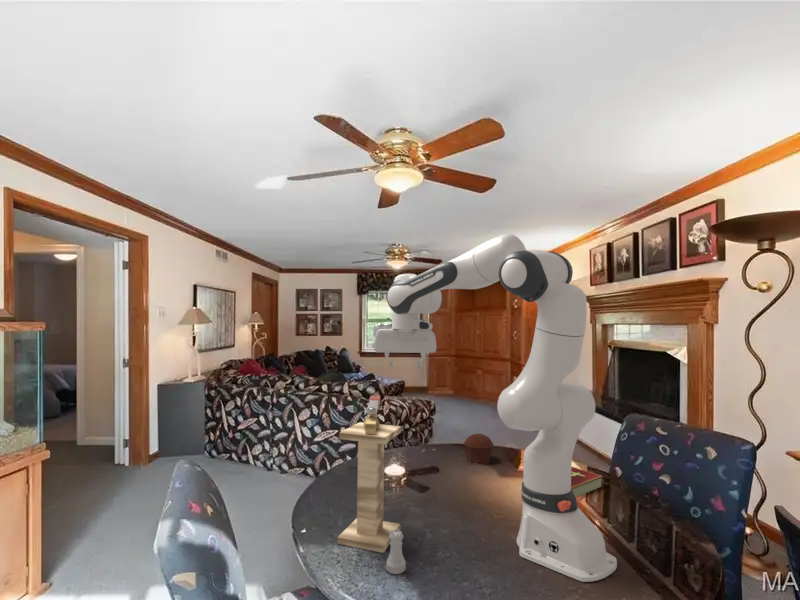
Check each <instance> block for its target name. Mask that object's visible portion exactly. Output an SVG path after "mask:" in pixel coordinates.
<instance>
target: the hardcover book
mask: <svg viewBox="0 0 800 600" xmlns="http://www.w3.org/2000/svg"><path fill="white" fill-rule="evenodd" d="M603 478H604V476H603V475H601V474H599V473H598V474H597V473H595V472H591V471H587V470H584V469H581V468H577V467H574V466H571V488H572V489H573V492H574V495H575V497H579V496H582V495H585V494H586V493H589V492H591V491H593V490H596V489H599V488H602V479H603Z"/></svg>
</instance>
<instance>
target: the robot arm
mask: <svg viewBox="0 0 800 600" xmlns="http://www.w3.org/2000/svg"><path fill="white" fill-rule="evenodd" d="M572 278H573V267H572V265H571V262H570V261H569V260H568V259H567V258H566V257H565V256H563V255H562V254H559V253H558V252H554V251H544V250H541V249H540V250H539V249H536V250H535V249H532V250H530V249H529V250H527V249H526V247H525V244H524V243H523V241H522V240H521V239H520V238H519V236H516V235H514V234H513V233H512V234H511V233H505V234H501V235H498V236H496V237H493V238H491V239H488V240H486V241H483V242H482V243H480V244H478V245H476V246H475V247H473V248H471V249H470V250H468V251H466V252H464V253H462V254H460V255H458V256H457V257H454V258H452V259H450V260H448V261H446V262H443V263H441V264H439V265H436V266H434V267H432V268H430V269H428V270H426V271H424V272H422V273H420V274H415V273H411V272H409V273H401V274H399V275H397V276H395V278H394V279H393V283H392V284H391V285H390V287H389V288H388V289H387V293H386V302H387V304H388V306H389V308H390V309H391V311H392V312H391V323H378V324H376V325H375V326H374V327H373V333H372V335H373V336H374V342H373V343H374V344H373V345H374V346H373V350H374V352H375V353H384V357H385V359H386V361H387V367H389V368H390V367H394V366H393V365H394V364H393V363H394V362H393V360H391V359H390V358H389V357H390V353H401V354H403V353H405V354H406V353H408V354H409V353H415V354H416V353H417V354H420V356H421V358H420V360H417V361H416V366H417V368H422V367H423V361H424V360H425V357H426V354H434V353H436V351H437V339H436V334H435V332H434V331H432V330H433V327H434V326H433V323H431V322H429V321H426V320H424V319H420V314H421V315H422V314H424V315H426V314H428V315H429V314H433V313H434V314H435V313H437V312H438V311H439V309H440V308H441V306H442V304H443V293H442V291H443V290H477V289H482V288H486V287H488V286H491V285H493V284H495V283H498V282H500V284H501V285H502V287H503V288H504V290H506V291H507V292H509V294H510V293H511V294H513V295H515V296H517V297H519V298H521V299H522V300H523V301H526V302H527V303H532V302H535V304H536V306H537V316H536V321H535V328H534V335H533V339H532V346H531V350H530V352H529V357H528V358H527V361H526V364H525V365H524V367H523V369H522V371H521V372H520V373H519V375H518V376H517V377H516V378H515V380H514V381H513V382H512V383H511V384H510V385H509V386H507V387H506V388H504V389H503V390H502V391H501V393H500V394H499V396H498V398H497V399H498V400H497V406H496V407H497V413H498V416H499V419H500V420H501V422H502V423H503V424H504V426H506V427H507V428H508V429H511V430H517V431H525V432H533V431H539V432H538V434H537V436H536V437H535V439H534V440H533V441H532V442H531V443H529V444H528V446H527V447H526V448H525V449H524V451H523V457H522V458H523V461H522V462H523V470H522V471H523V474H522V477H523V478H522V479H523V480H522V482H521V497H520V498H521V500H522V508H521V509H522V511H521V518H520V519H521V520H520V525H519V529H518V530H519V531H518V532H517V533H518V534H517V537H516V544H517V546H518V548H519V553H518V554H519V556H520V557H521V558H523V559H525V560H528V561H530V562H533V563H536V564H537V565H541V566H543V567H545V568H547V569H550V570H552V571H555V572H557V573H560V574H561V575H565V576H566V577H569V578H572V579H573V580H577V581H578V582H583V583H587V582H589V583H591V582H595V581H596V582H597V581H599V580H602V579H605V578H607V577H608V576H610V575H611V574H613V573H614V572H615V571H616V569H617V568H618V562H617V561H618V560H617V558H616V557H615V556H613V555H612V554H610V553H609V552H607V549H606V548H607V547H606V543H605V539H604V536H603V533H602V532H601V531H600V530H599V529H598V528H597V526H595V525H594V523H593V522H592V521H591V520H590V519H589V518H588V517H587V515H585V513H584V512H583V511H582V510H581V509H580V508H579V504H578V503H579V502H581V501H582V500H583V499H581V498H582V497H583V496H582V495H580V496H577V497H575V495H574V492H573V489H572V488H571V467H572V463H573V462H572V461H573V454H574V450H575V446H576V444H577V441H578V439H579V436H580V435H581V432H582V430H583V429H584V428H585V426H587V424H588V423H589V422H590V421H591V420H592V419H593V417H595V413H596V401H595V398H594V396H593V394H592V392H591V391H590V389H588V388H587V386H584V385H582V384H576V383H573V382H566V381H565V382H563V381H564V379H566V378H567V377H568V376H569V375H570V374H572V373H573V372H574V371H575V370H576V369H577V368H578V367H579V364H580V360H581V356H582V355H581V353H582V349H583V344H584V338H585V332H586V326H587V314H588V313H587V309H588V308H587V307H588V305H587V302H588V301H587V294H586V293H585V291H584V290H582V288H580V287H578V286H576V285H574V284H571V281H572Z"/></svg>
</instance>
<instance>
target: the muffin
mask: <svg viewBox="0 0 800 600" xmlns="http://www.w3.org/2000/svg"><path fill="white" fill-rule="evenodd" d="M463 443H464V448H465V449H464V451H465V455H466V462H468V461H469V462H468V463H470V462H471V463H477V464H485V465H487V464H486V463H488V464H490V462H491V456H492V449H493V448H494V443H493V442H492V439H490V437H488V436H487V435H485V434H483V433H473V434H471V435H469V436H467V438H466V439H465V440H464V442H463ZM471 463H470V464H471ZM477 464H476V465H477Z"/></svg>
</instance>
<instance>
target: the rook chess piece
mask: <svg viewBox="0 0 800 600" xmlns="http://www.w3.org/2000/svg"><path fill="white" fill-rule="evenodd" d="M389 538H390V540H391V542H390V545H389V546H390V548H389V549H390V550H389V555H388V557H387V559H386V561H385V570H386V571H387V572H388V573H389V574H392V575H401V574H403V573H404V572H405V571H406V569H407V565H406V564H407V562H406V560H405V557H404V555H403V549H402V547H403V541H402V540H403V539H404V534H403V531H402V530H399V529H398V531H396V529H394V532H393V530H391V532H390V535H389Z"/></svg>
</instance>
